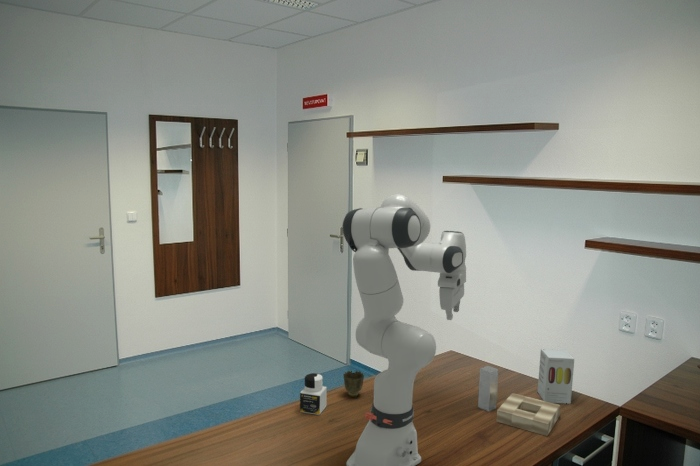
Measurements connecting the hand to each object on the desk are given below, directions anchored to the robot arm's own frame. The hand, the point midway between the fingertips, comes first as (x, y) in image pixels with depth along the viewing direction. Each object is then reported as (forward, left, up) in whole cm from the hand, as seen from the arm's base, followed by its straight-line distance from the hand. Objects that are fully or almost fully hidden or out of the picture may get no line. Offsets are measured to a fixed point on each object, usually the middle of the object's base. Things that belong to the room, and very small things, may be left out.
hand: (453, 315), depth 183 cm
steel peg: (+2, -13, -31) cm, 34 cm away
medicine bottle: (-34, +35, -31) cm, 58 cm away
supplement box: (+24, -30, -31) cm, 50 cm away
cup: (-17, +30, -31) cm, 46 cm away
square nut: (+2, -27, -31) cm, 41 cm away
